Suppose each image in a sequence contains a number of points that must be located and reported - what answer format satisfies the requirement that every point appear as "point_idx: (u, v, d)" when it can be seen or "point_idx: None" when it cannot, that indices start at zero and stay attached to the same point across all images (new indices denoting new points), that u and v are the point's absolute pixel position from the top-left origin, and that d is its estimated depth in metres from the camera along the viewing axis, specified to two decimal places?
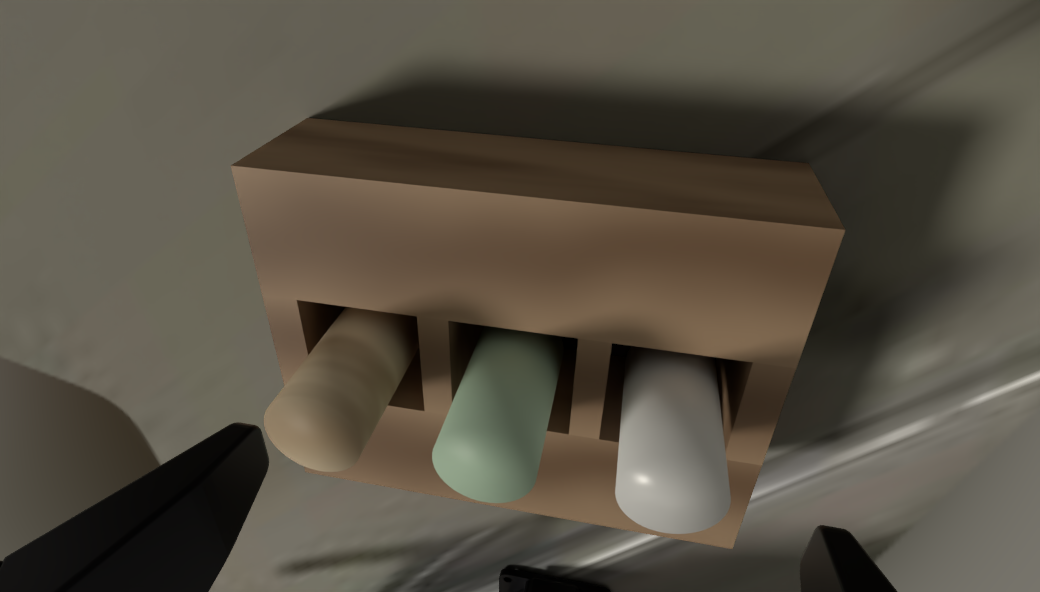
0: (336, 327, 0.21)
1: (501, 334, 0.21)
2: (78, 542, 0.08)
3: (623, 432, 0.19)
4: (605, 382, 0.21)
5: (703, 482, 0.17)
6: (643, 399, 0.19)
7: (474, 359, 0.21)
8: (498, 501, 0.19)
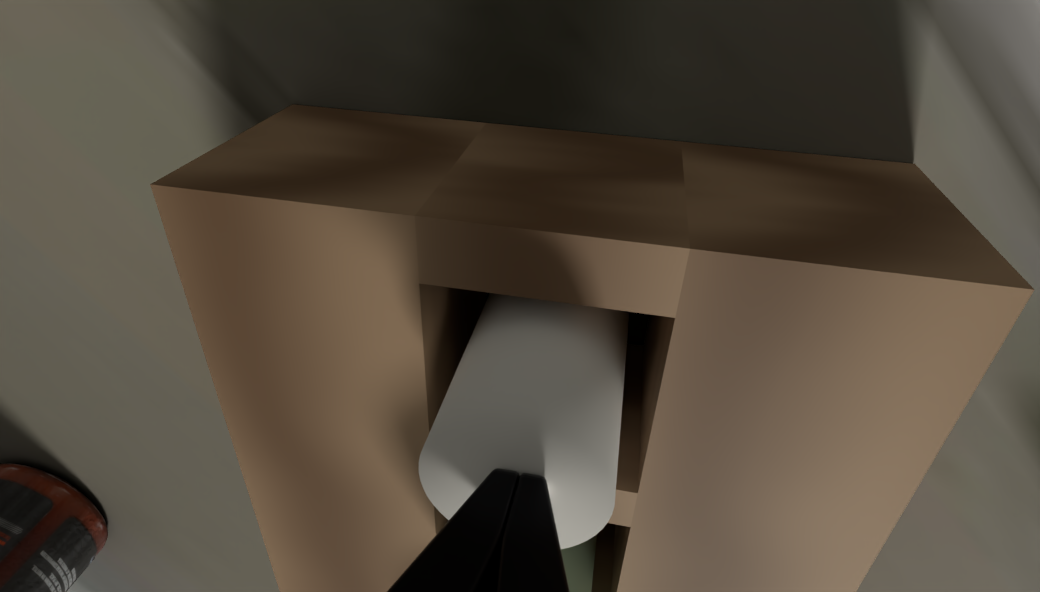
0: None
1: None
2: None
3: None
4: None
5: (463, 447, 0.10)
6: None
7: None
8: None
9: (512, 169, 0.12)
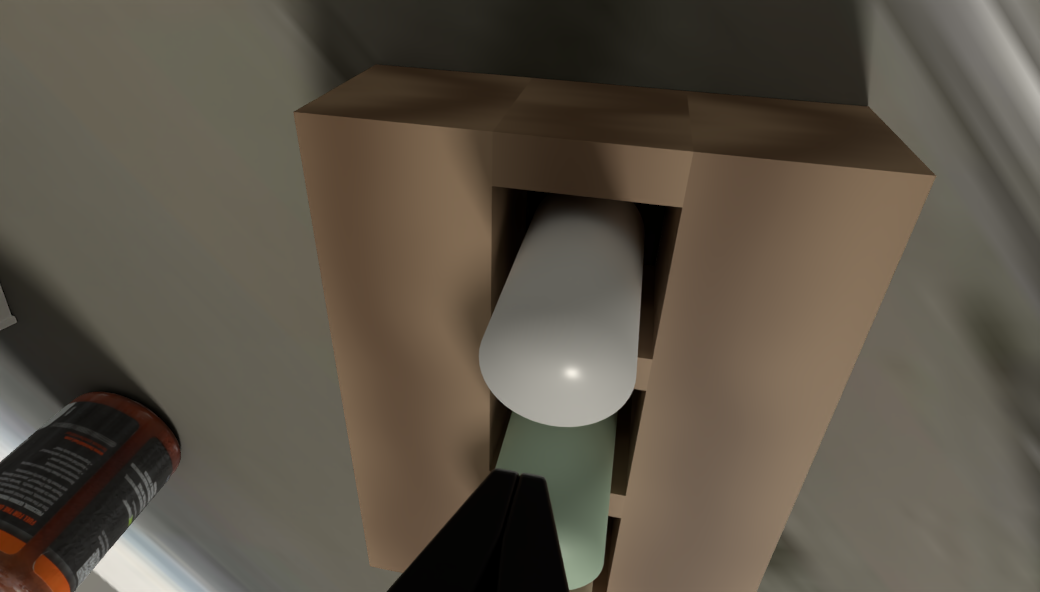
0: None
1: None
2: None
3: None
4: None
5: (516, 334, 0.12)
6: None
7: None
8: (602, 550, 0.15)
9: (558, 106, 0.16)
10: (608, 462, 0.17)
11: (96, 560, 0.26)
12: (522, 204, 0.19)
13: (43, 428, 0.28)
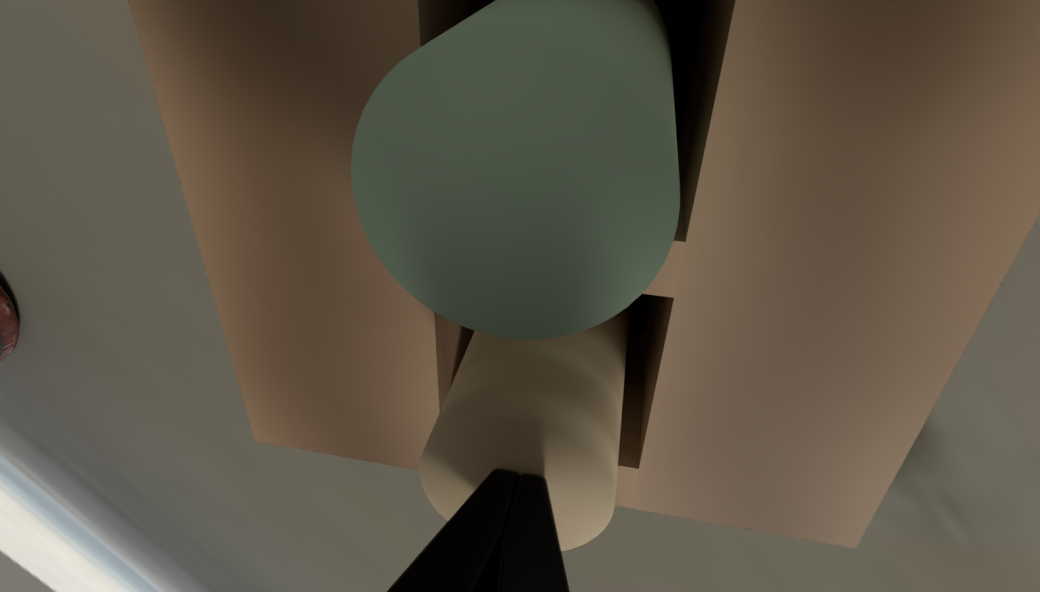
0: None
1: None
2: None
3: None
4: None
5: None
6: None
7: None
8: (678, 175, 0.06)
9: None
10: (669, 76, 0.07)
11: None
12: None
13: None
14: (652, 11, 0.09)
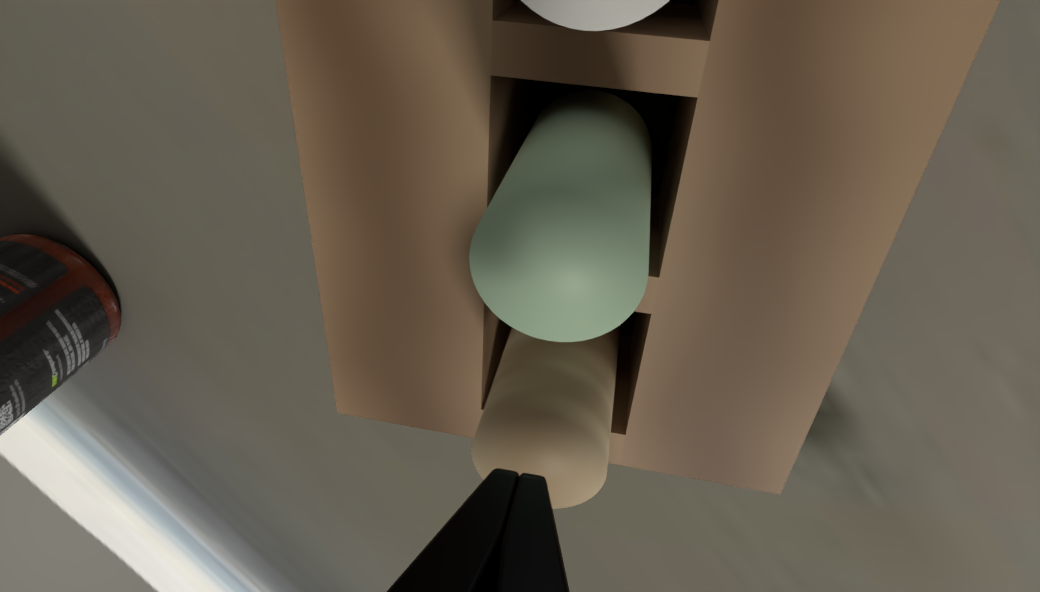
0: None
1: None
2: None
3: None
4: (573, 30, 0.12)
5: None
6: None
7: None
8: (647, 258, 0.11)
9: None
10: (647, 186, 0.12)
11: (8, 417, 0.22)
12: None
13: None
14: (639, 131, 0.14)
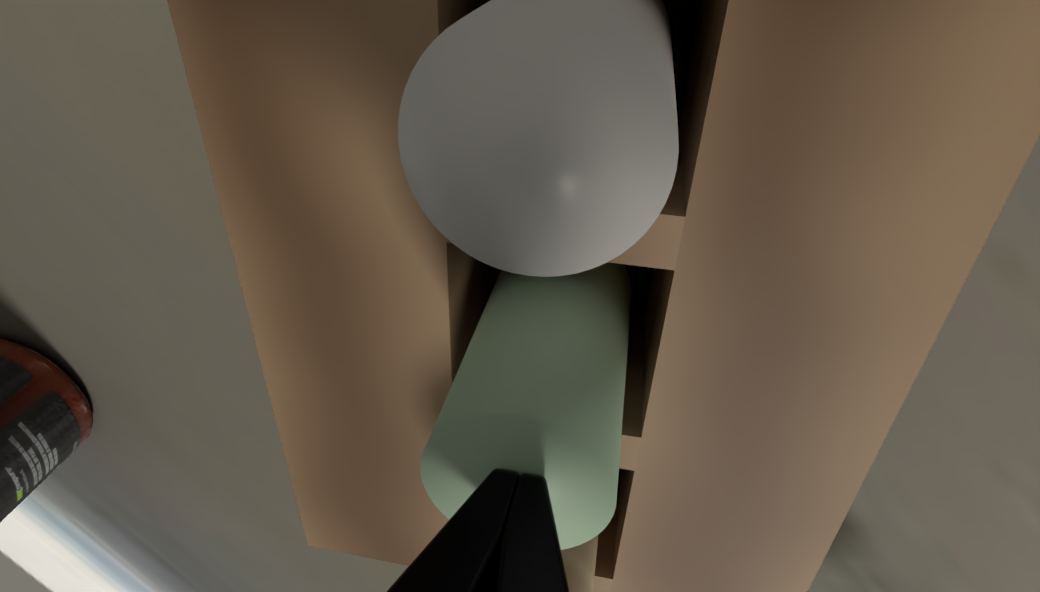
0: None
1: None
2: None
3: None
4: None
5: (460, 83, 0.07)
6: None
7: None
8: (615, 482, 0.09)
9: None
10: (619, 365, 0.11)
11: None
12: None
13: None
14: (614, 283, 0.13)
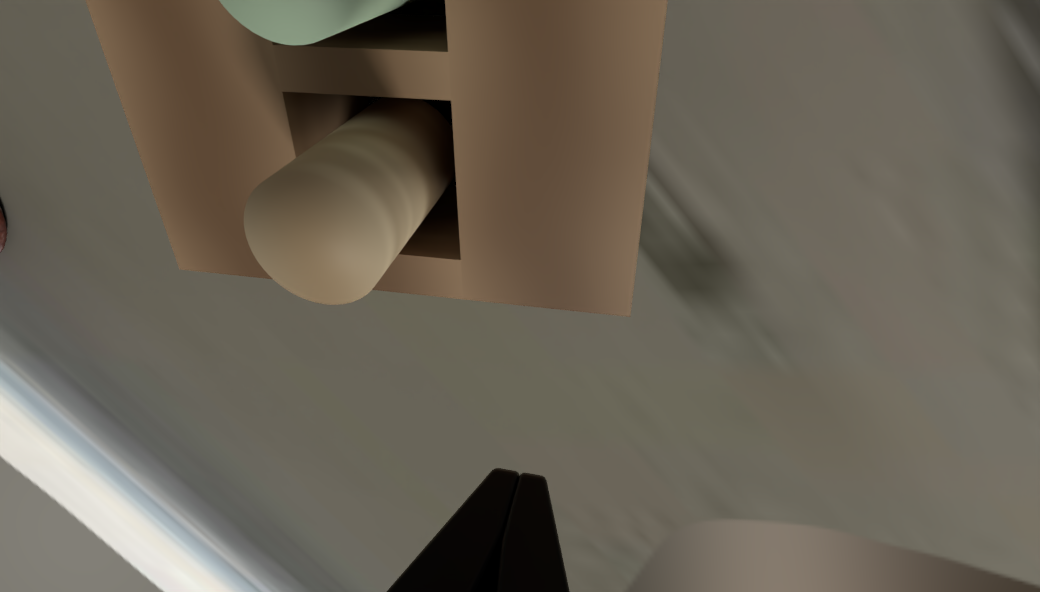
0: None
1: None
2: None
3: None
4: None
5: None
6: None
7: None
8: None
9: None
10: None
11: None
12: None
13: None
14: None
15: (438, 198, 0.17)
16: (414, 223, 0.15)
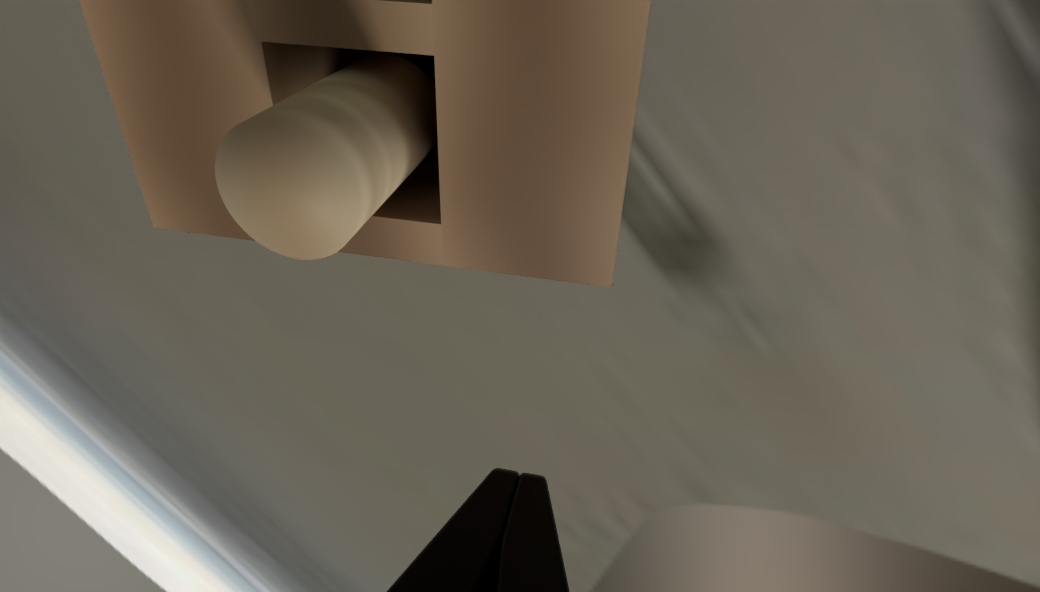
0: None
1: None
2: None
3: None
4: None
5: None
6: None
7: None
8: None
9: None
10: None
11: None
12: None
13: None
14: None
15: (420, 160, 0.17)
16: (393, 181, 0.15)
